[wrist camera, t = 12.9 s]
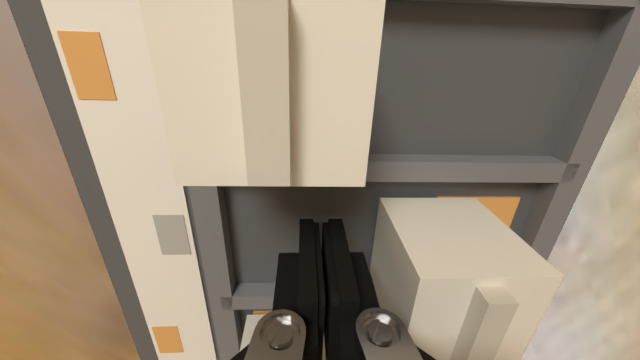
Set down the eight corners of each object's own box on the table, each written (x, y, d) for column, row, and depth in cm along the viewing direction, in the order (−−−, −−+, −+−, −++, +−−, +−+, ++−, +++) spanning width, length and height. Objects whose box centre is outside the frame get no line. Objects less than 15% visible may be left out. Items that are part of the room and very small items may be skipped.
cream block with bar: (348, 7, 9) (399, -32, 4) (340, 131, 10) (370, 200, 6) (212, 1, 8) (107, -48, 4) (226, 129, 10) (163, 200, 5)
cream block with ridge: (475, 198, 12) (583, 294, 7) (454, 269, 13) (531, 383, 9) (379, 197, 11) (429, 297, 7) (369, 270, 13) (404, 389, 9)
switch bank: (632, -12, 10) (697, -24, 8) (482, 346, 18) (500, 376, 16) (19, -44, 9) (-46, -64, 7) (154, 356, 17) (138, 390, 15)
